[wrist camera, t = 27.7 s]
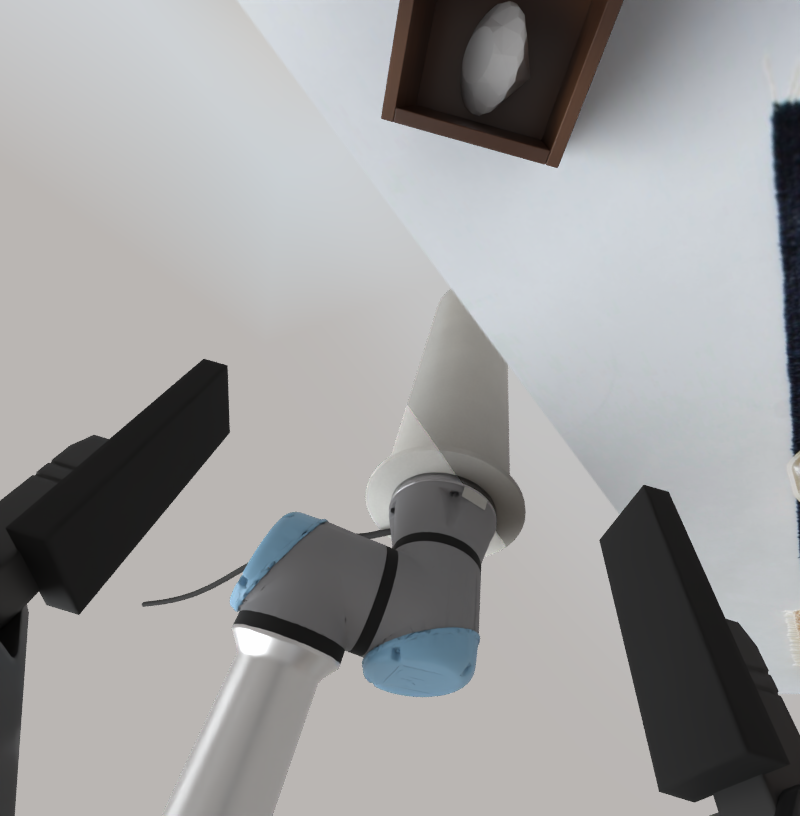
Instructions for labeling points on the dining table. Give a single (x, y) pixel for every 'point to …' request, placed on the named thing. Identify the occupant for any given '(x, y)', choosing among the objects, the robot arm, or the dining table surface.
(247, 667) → the robot arm
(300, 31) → the dining table surface
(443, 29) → the chest
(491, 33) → the grey rounded piece
